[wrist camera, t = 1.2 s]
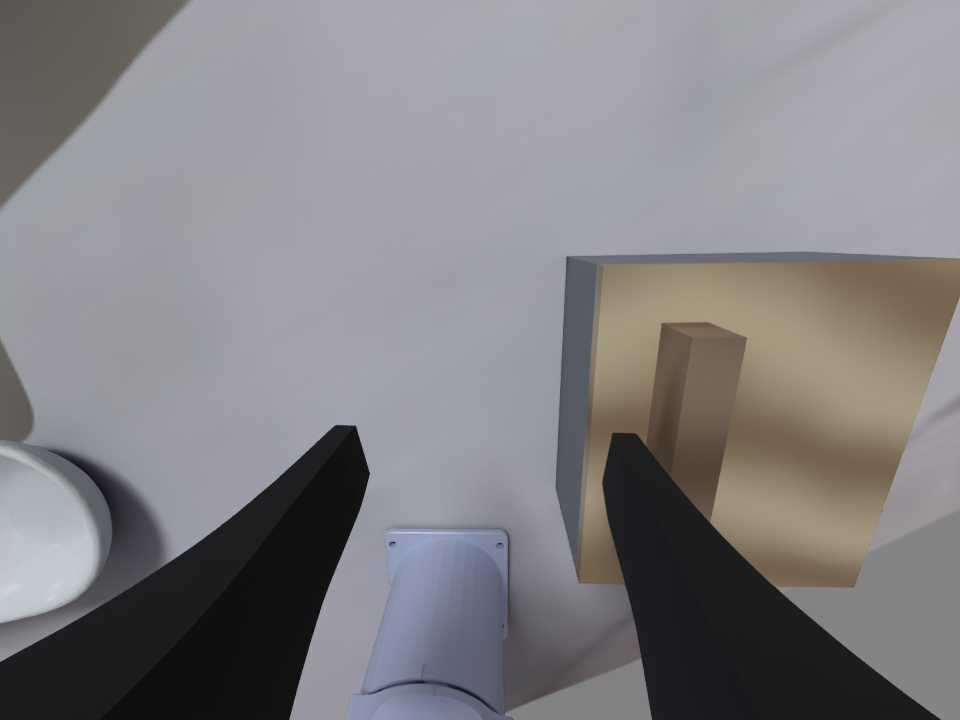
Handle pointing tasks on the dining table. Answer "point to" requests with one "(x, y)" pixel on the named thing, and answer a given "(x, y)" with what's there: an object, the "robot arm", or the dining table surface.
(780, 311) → the lid
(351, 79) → the dining table surface
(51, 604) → the spoon rest
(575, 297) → the box
